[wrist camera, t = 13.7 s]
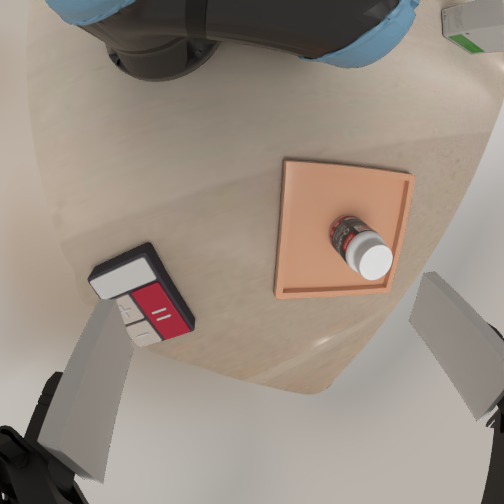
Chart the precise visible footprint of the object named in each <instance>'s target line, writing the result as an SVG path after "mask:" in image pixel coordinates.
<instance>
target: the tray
mask: <svg viewBox="0 0 504 504" xmlns="http://www.w3.org/2000/svg"><path fill="white" fill-rule="evenodd" d="M414 180H415V175H412V174H410V173H405V172H399V171H392V170H386V169H378V168H371V167H363V166H354V165H345V164H335V163H324V162H312V161H298V160H283V173H282V188H281V203H280V216H279V230H278V243H277V255H276V267H275V279H274V290H273V292H274V296H275V299H290V298H313V297H332V296H348V295H363V294H377V293H389V292H390V289H391V286H392V282H393V279H394V275H395V271H396V268H397V264H398V260H399V256H400V252H401V248H402V243H403V239H404V235H405V230H406V225H407V220H408V215H409V210H410V205H411V199H412V193H413V187H414ZM346 215H352V216H355V217H357V218H359V219H360V220H362V221H363V222H364V223H365V224H367V225H368V226H369V227H371V228H372V229H373V230H374V231H376V232H377V233H378V234H379V235H380V236H381V237H382V238H383V240H384V242H385V245H386V246H387V247H388V248H389V249H390V250H391V252H392V256H393V259H392V264H391V267H390V269H389V270H388V271H387V273H386V274H385V275H384V276H382V277H381V278H379V279H376V280H368V279H365V278H364V277H363V276H362V275H361V274H360V273H359V272H356V271H354V270H352V269H351V268H350V267H349V266H348V264H347V263H346V262H345V261H344V260H343V258H342V257H341V256H340V255H339V254H338V252H337V251H336V250H335V249H334V248H333V246H332V245H331V243H330V240H329V232H330V229H331V227H332V225H333V223H334V222H335V221H336V220H337V219H339V218H340V217H342V216H346Z"/></svg>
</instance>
